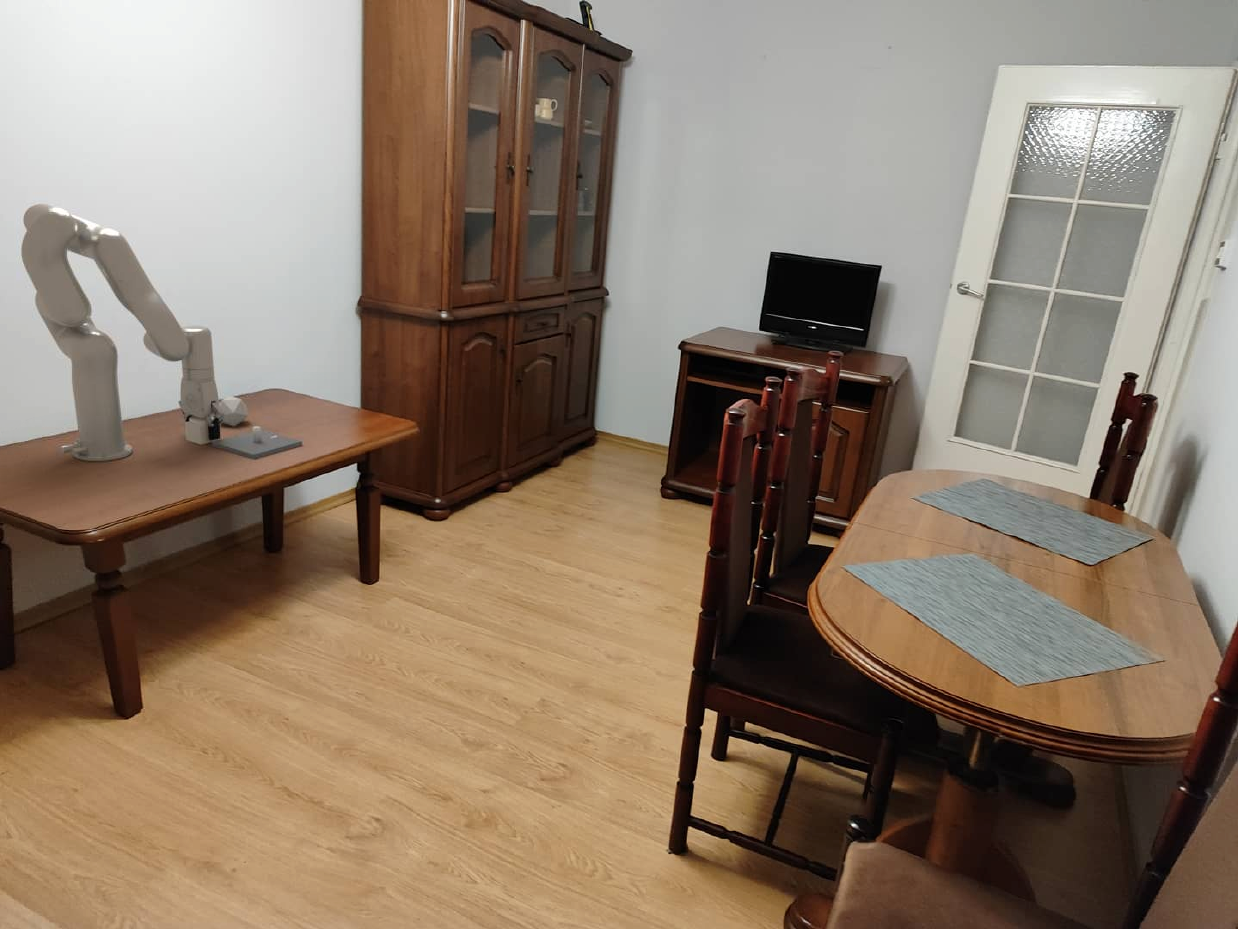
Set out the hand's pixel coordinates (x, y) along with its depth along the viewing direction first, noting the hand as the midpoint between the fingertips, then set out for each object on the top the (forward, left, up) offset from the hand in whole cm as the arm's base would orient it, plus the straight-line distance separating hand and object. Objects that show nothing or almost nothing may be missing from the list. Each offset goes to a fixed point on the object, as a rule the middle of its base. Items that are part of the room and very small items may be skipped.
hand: (203, 435), depth 223 cm
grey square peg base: (+6, -14, -1) cm, 15 cm away
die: (+15, +7, -1) cm, 17 cm away
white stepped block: (0, 0, -1) cm, 1 cm away
